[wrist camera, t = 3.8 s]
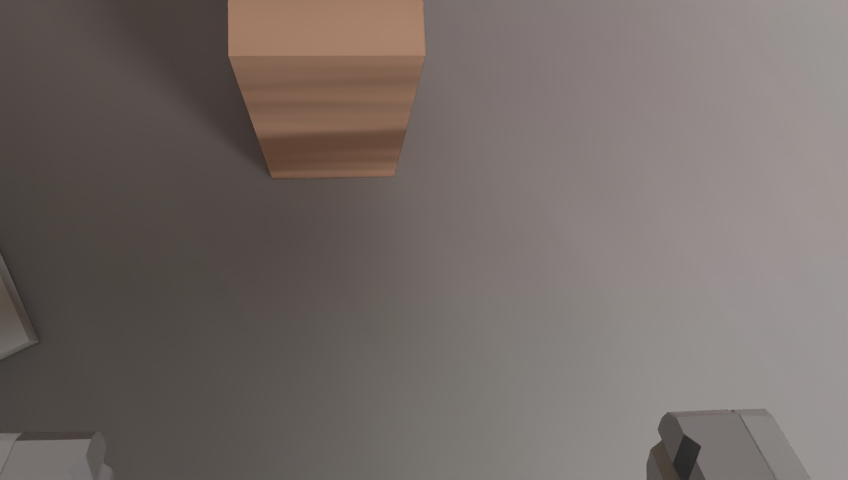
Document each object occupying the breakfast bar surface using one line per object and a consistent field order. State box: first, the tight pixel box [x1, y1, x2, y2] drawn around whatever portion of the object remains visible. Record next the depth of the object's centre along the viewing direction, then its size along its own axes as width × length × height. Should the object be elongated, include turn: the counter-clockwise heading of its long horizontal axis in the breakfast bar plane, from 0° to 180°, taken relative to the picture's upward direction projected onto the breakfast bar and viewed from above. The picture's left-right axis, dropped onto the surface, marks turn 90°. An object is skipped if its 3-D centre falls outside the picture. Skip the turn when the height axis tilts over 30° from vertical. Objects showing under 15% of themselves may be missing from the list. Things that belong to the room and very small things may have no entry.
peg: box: [228, 0, 426, 179], centre depth 21 cm, size 4×4×10 cm
